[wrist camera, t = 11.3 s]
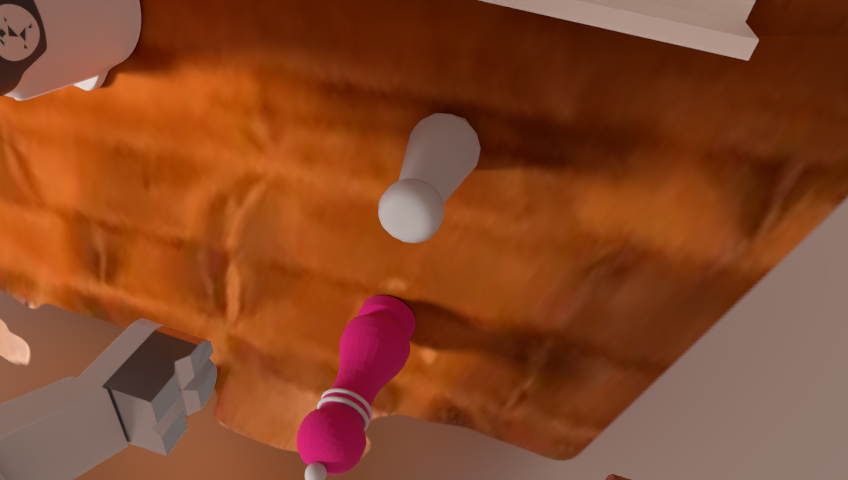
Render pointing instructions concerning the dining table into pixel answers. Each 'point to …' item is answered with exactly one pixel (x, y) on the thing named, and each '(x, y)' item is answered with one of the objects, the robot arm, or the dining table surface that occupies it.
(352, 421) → the pepper mill
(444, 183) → the salt shaker
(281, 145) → the dining table surface
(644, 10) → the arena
